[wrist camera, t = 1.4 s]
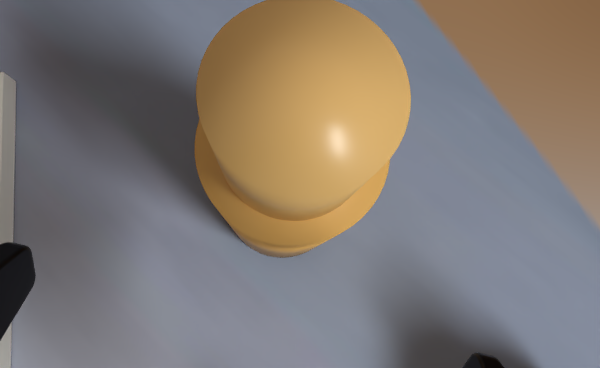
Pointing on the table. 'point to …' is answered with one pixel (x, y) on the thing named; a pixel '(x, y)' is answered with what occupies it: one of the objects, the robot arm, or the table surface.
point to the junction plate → (7, 183)
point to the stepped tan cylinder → (298, 121)
